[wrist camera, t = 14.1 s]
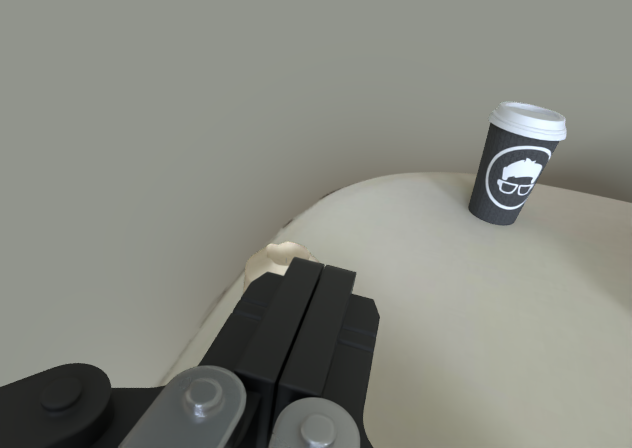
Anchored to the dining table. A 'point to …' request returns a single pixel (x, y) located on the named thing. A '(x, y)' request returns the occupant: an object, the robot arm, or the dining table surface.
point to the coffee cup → (514, 159)
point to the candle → (274, 260)
